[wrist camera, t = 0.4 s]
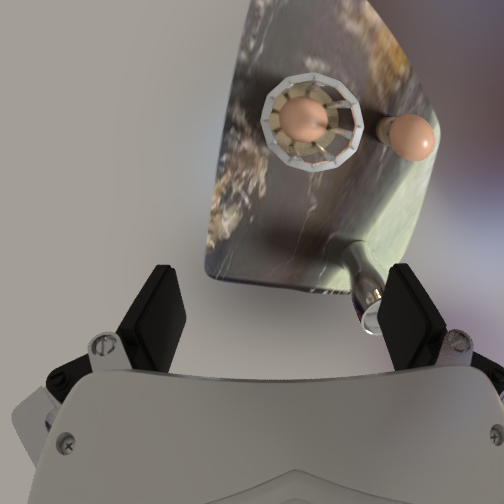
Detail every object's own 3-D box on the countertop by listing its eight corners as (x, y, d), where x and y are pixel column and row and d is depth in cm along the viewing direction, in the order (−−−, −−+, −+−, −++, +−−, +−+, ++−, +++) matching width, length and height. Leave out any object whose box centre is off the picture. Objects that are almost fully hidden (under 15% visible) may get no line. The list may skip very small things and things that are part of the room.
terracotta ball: (389, 105, 27) (410, 106, 22) (424, 124, 27) (448, 129, 22) (376, 146, 30) (395, 154, 25) (412, 162, 30) (434, 174, 25)
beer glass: (347, 233, 41) (376, 291, 28) (382, 244, 42) (419, 301, 29) (331, 268, 45) (350, 332, 32) (365, 277, 45) (391, 339, 32)
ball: (284, 92, 31) (287, 88, 25) (328, 105, 31) (338, 104, 26) (273, 133, 34) (273, 137, 28) (315, 145, 34) (323, 152, 29)
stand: (380, 112, 31) (394, 113, 27) (405, 124, 32) (420, 127, 27) (372, 138, 33) (384, 143, 29) (396, 149, 34) (411, 156, 30)
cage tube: (272, 74, 30) (272, 56, 19) (345, 97, 31) (379, 93, 20) (253, 143, 35) (245, 158, 24) (324, 163, 36) (347, 188, 25)
